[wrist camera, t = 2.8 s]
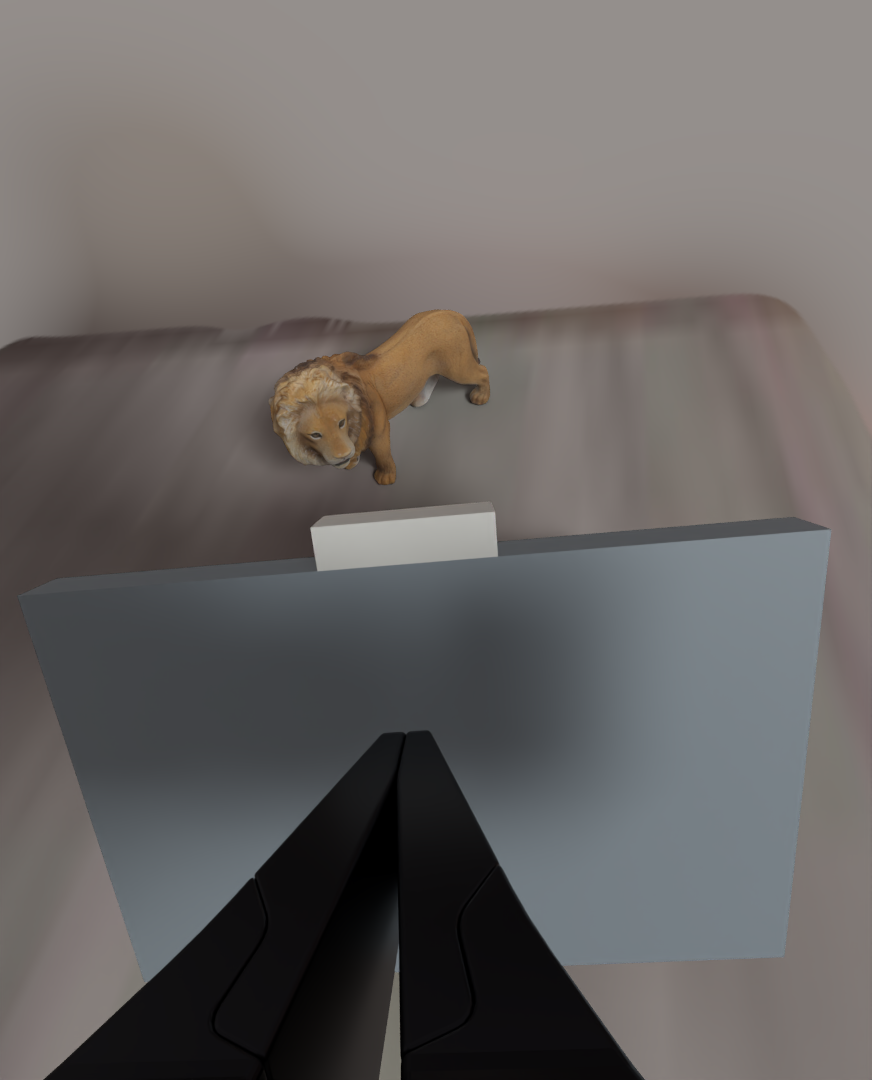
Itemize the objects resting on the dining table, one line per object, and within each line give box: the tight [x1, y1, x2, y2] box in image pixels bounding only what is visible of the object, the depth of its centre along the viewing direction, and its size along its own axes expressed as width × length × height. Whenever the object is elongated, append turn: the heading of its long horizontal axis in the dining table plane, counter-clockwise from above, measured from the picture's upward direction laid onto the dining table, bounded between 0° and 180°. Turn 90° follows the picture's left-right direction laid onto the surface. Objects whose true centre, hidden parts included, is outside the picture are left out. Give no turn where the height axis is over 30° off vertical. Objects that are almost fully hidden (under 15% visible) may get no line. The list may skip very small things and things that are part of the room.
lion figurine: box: [269, 310, 490, 485], centre depth 27 cm, size 15×5×9 cm, turn 144°
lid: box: [17, 501, 831, 982], centre depth 13 cm, size 13×18×1 cm
